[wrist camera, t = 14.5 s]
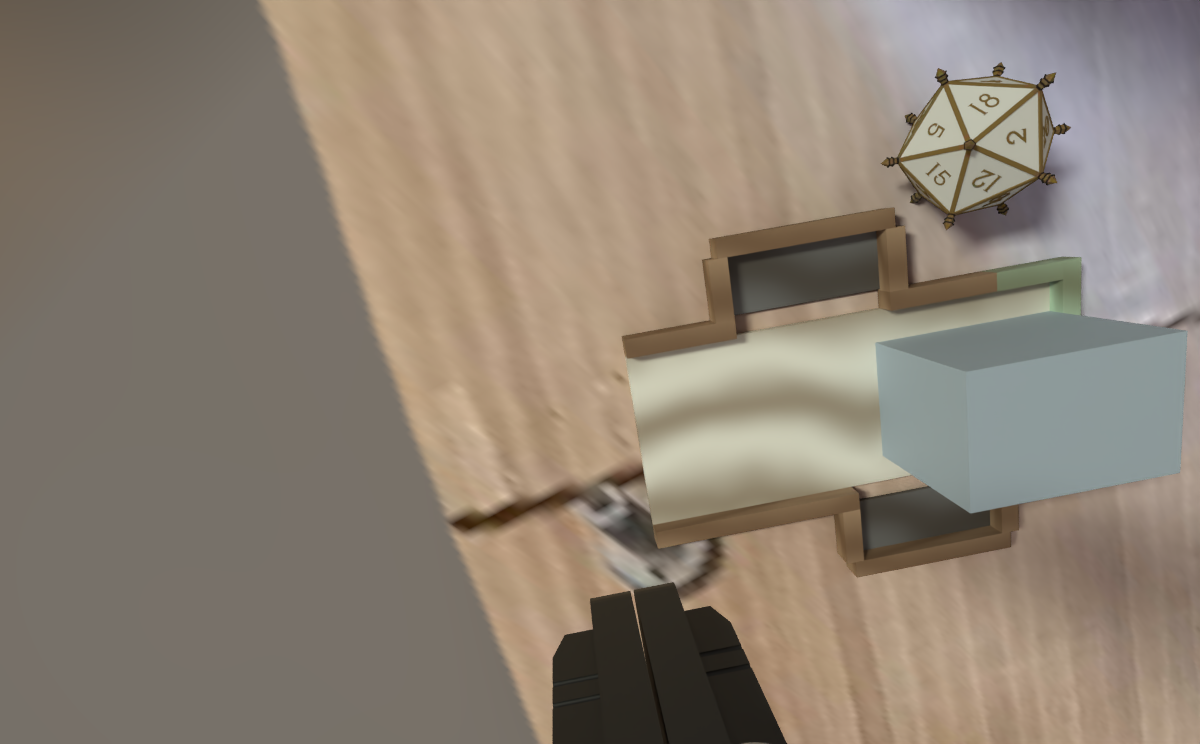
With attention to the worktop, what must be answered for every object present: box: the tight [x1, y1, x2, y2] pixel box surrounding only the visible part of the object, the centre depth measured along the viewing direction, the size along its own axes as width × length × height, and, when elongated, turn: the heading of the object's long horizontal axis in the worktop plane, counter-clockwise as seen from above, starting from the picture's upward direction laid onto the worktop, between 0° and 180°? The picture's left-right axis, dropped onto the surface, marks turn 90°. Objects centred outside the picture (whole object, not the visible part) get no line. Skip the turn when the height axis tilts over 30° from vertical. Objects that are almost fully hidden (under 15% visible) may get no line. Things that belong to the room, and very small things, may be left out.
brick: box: [875, 311, 1187, 513], centre depth 37 cm, size 8×12×9 cm, turn 100°
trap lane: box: [622, 208, 1081, 577], centre depth 40 cm, size 25×30×2 cm
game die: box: [881, 62, 1071, 230], centre depth 34 cm, size 9×8×10 cm
